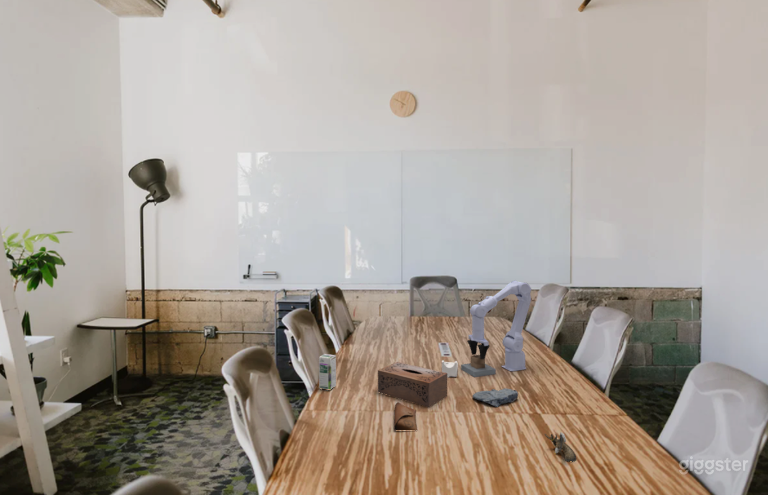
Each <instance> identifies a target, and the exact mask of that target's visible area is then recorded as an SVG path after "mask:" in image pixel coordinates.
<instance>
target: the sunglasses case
mask: <svg viewBox="0 0 768 495" xmlns="http://www.w3.org/2000/svg"><path fill="white" fill-rule="evenodd" d="M416 411H417V410H416V409H415V408H412V407H411V406H410V407H409V406H407V405H405V404H402V403H401V402H399V401H398V402H396V404H395V405H394V416H393V417H394V419H393V422H394V424H393V429H394V431H395V430H417V431H418V427H417V419H416V414H417V413H416Z"/></svg>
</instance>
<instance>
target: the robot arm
mask: <svg viewBox="0 0 768 495" xmlns="http://www.w3.org/2000/svg"><path fill="white" fill-rule="evenodd" d="M531 292H532V287H531V286H530V284H529V283H527V282H523V281H518V280H512V281H510V282H509V283H507V284H506V285H505V287H503V288H502V289H501V290H500V291H498V292H497V293H496V294H494V295H493V296H492V295H489V296H488V295H487V296H485V298H484V299H483V300H481V301H479V302H478V303H477V304H473V305H472V306H471V308H470V310H469V313H470V315H471V319H472V320H471V327H472V328H471V334H468V340H467V344H468V345H469V349H470V353H471V356H473V355H477V352H478V350H479V355H480V359H485V360H486V357H487V356H486V355H487V352H488V351H489V350H488V349H490V343H489V341H488V340H487V339H486V338H485V317H486V315H487V313H488V312H489V311H490V310H492V309H493V308H495V307H497V305H498V302H500V301H501V300H503V299H505V298H507V297H508V296H510V295H514V296H516V298H517V300H518V303H517V306H516V310H515V313H514V316H513V320H512V324H511V327H510V329H509V331H507V332H506V334H505V336H504V337H503V339H502V345H503V346H504V353H505V354H504V365H501V367H502V368H503V369H506V370H507V371H510V372H516V371H522V370H526V369H527V367H526V353H525V351H524V350H523V348H524V343H523V342H524V337H523V335H522V333H523V329H524V326H525V322H526V319H527V316H528V312H529V309H530V305H531V302H532V297H531ZM477 348H478V349H477Z"/></svg>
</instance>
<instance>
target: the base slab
mask: <svg viewBox="0 0 768 495" xmlns="http://www.w3.org/2000/svg"><path fill="white" fill-rule="evenodd" d="M460 370H461V371H463V372H465V373H466V374H468V375H470V376H471V377H473V378H478V377H485V376H492V375H496V371H497V369H496V368H494V367H492V366H491V365H489V364H487V363H485V368H479V369H476V368H474V367H472V366H471V362H470V363H469V362H468V363H463V364H460Z"/></svg>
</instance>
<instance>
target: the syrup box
mask: <svg viewBox="0 0 768 495" xmlns="http://www.w3.org/2000/svg"><path fill="white" fill-rule="evenodd" d="M318 374H319V376H318V378H319V381H318V383H319V384H318V386H319V387H318V388H323V389H332V388H333V387H335V386H336V387H337V356H336V354H327V353H323V354H322V355H320V356H319V357H318ZM336 387H335V388H336ZM333 389H334V388H333ZM333 389H332V390H333Z"/></svg>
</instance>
